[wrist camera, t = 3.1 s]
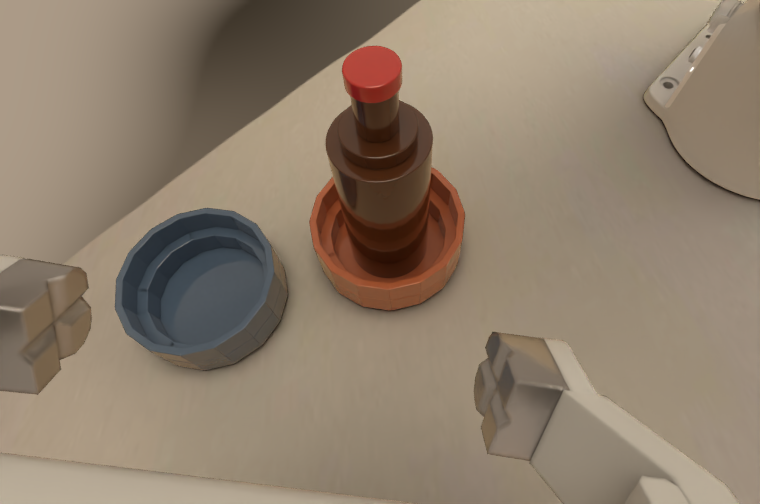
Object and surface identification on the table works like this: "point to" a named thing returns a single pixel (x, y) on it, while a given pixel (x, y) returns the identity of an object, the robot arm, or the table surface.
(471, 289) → the table surface
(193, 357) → the bowl
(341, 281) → the bowl
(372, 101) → the sauce bottle
